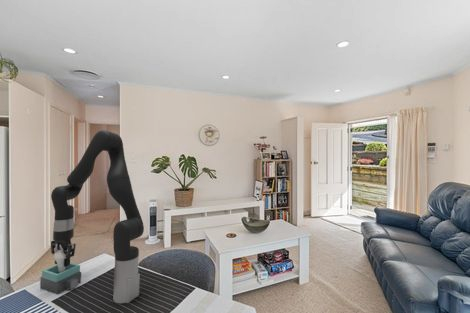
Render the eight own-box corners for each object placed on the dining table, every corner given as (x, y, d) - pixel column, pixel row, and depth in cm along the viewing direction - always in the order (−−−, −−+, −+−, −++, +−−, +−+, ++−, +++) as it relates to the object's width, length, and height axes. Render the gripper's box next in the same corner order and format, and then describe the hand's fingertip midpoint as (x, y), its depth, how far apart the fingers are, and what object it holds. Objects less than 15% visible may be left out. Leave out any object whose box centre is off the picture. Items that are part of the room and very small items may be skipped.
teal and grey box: (85, 283, 101) (85, 266, 101) (61, 296, 92) (62, 277, 92) (64, 277, 106) (64, 260, 107) (40, 288, 97) (40, 270, 97)
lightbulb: (62, 276, 97) (64, 251, 97) (49, 275, 97) (50, 250, 97) (73, 269, 103) (74, 246, 103) (60, 268, 103) (62, 245, 103)
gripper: (82, 228, 101) (80, 264, 101) (62, 224, 106) (60, 258, 106) (65, 232, 94) (63, 271, 94) (44, 228, 99) (42, 265, 99)
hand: (62, 264), depth 100 cm, fingers closed on lightbulb, 5 cm apart
